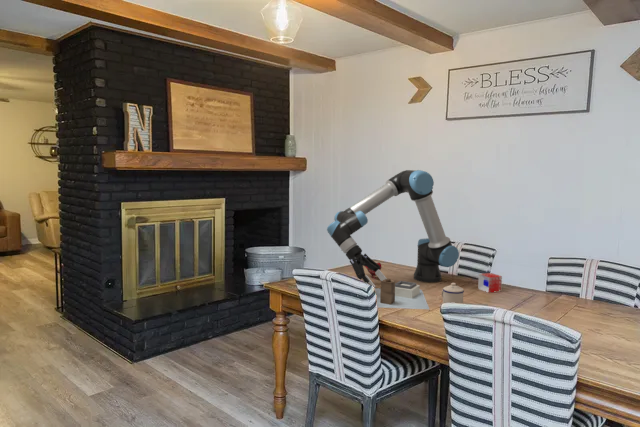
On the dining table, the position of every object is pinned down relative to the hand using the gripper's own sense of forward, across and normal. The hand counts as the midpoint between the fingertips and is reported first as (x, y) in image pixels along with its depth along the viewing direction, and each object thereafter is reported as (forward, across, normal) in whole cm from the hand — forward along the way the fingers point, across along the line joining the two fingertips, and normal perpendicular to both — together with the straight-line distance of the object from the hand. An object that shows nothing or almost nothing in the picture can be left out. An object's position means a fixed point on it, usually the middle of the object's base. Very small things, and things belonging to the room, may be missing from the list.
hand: (379, 285), depth 215 cm
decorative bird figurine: (-10, -42, -23) cm, 49 cm away
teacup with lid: (+27, -11, +15) cm, 33 cm away
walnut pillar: (+8, -1, -3) cm, 9 cm away
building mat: (+10, -11, -2) cm, 15 cm away
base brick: (+10, -18, -2) cm, 21 cm away
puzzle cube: (+33, -52, +21) cm, 65 cm away
